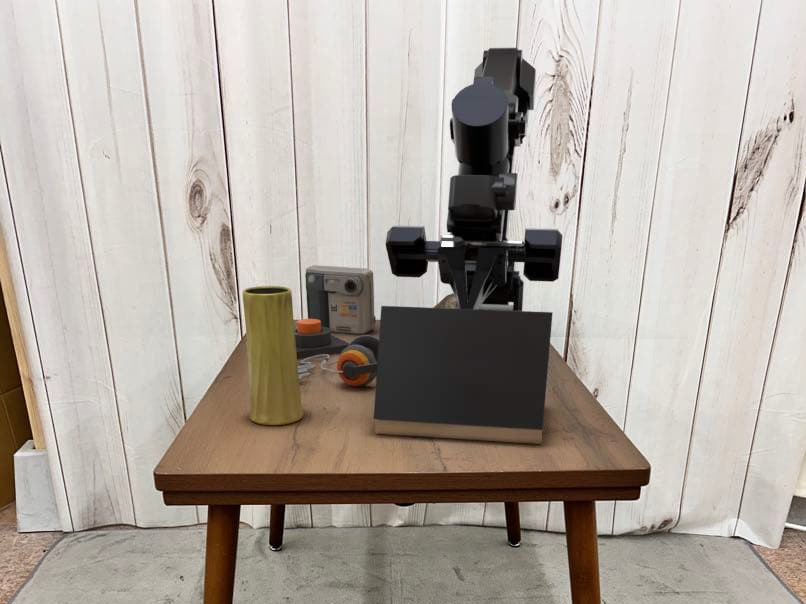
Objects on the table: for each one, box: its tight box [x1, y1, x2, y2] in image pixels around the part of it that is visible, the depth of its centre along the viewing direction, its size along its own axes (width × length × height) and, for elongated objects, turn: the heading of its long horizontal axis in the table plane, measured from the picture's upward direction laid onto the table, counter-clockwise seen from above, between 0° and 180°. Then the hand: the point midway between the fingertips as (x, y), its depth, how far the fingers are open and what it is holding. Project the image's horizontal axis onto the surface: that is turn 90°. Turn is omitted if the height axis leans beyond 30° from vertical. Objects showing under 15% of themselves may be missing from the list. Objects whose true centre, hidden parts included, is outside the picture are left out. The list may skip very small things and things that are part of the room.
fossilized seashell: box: [432, 292, 458, 309], centre depth 129 cm, size 8×7×10 cm
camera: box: [304, 264, 377, 335], centre depth 128 cm, size 11×6×10 cm, turn 67°
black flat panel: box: [373, 305, 554, 431], centre depth 82 cm, size 12×18×1 cm
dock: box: [294, 326, 350, 360], centre depth 117 cm, size 10×8×3 cm
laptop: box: [374, 419, 543, 445], centre depth 89 cm, size 12×18×2 cm, turn 80°
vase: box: [242, 285, 304, 426], centre depth 87 cm, size 6×6×14 cm
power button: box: [295, 318, 321, 334], centre depth 116 cm, size 4×4×2 cm
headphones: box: [297, 334, 379, 387], centre depth 103 cm, size 17×5×20 cm
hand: (465, 320), depth 83 cm, fingers closed, pressing on black flat panel
